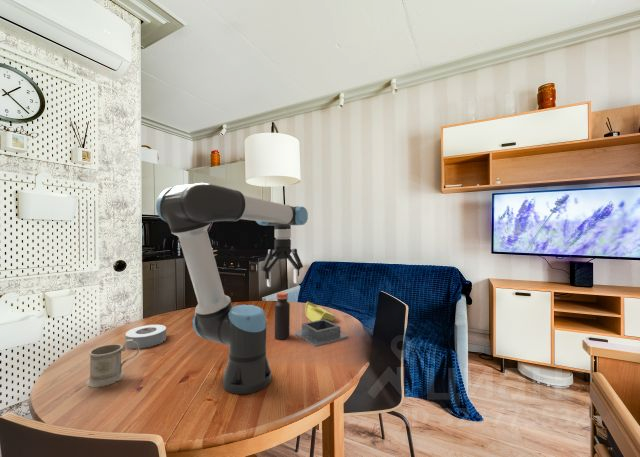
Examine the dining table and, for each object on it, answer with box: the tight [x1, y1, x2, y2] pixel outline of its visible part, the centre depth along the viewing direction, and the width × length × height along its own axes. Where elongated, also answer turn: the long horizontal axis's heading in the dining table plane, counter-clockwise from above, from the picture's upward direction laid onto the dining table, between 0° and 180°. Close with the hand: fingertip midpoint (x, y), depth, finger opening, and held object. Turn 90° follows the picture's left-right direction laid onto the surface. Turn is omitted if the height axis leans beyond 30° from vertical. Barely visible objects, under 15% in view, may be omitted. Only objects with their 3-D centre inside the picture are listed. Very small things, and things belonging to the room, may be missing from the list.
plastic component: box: [305, 301, 336, 322], centre depth 157 cm, size 20×7×10 cm
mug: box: [85, 339, 141, 388], centre depth 92 cm, size 14×10×12 cm
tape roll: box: [124, 324, 167, 349], centre depth 123 cm, size 15×15×5 cm
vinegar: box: [274, 291, 291, 341], centre depth 128 cm, size 7×7×20 cm
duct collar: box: [294, 319, 349, 347], centre depth 130 cm, size 18×18×5 cm
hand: (282, 284), depth 129 cm, fingers open, 13 cm apart
